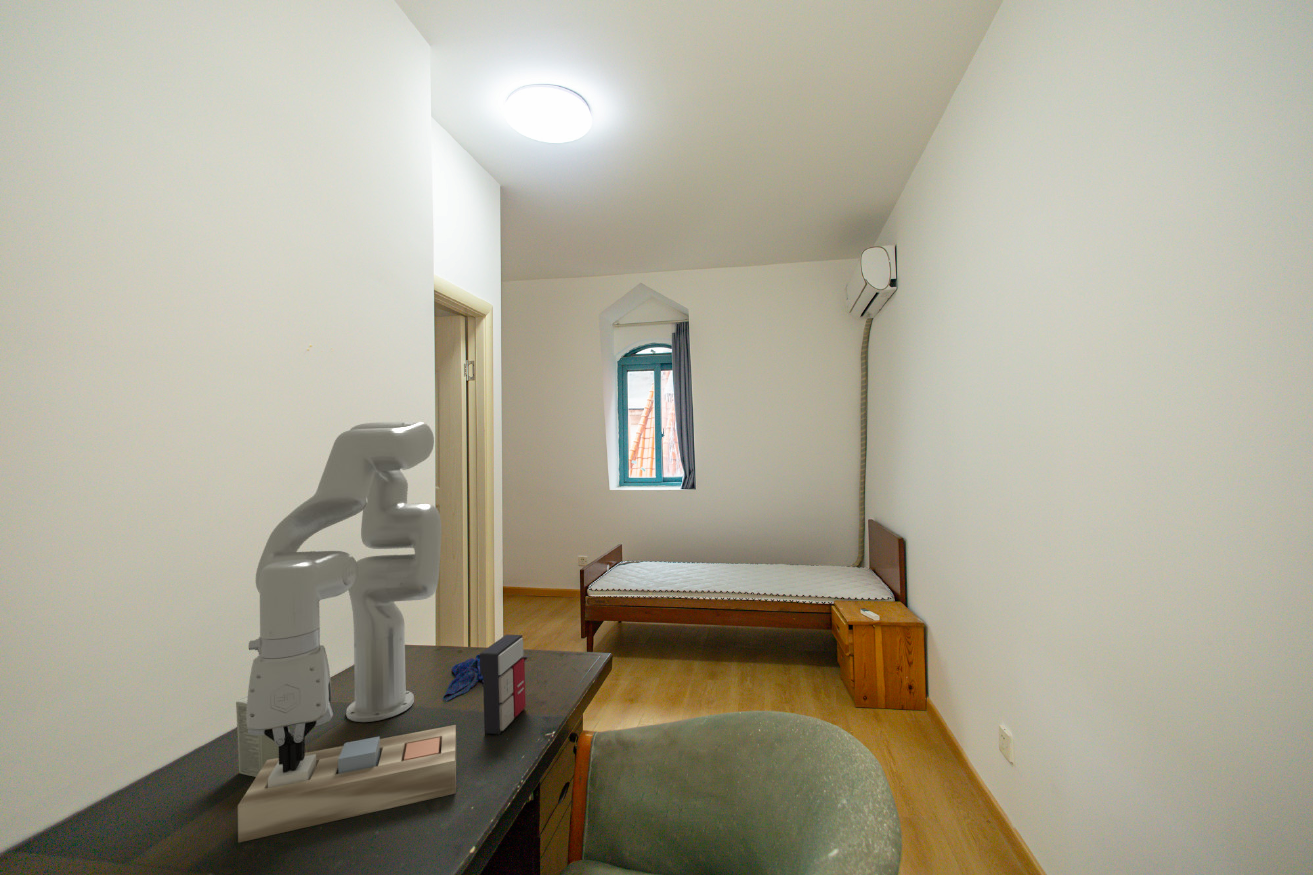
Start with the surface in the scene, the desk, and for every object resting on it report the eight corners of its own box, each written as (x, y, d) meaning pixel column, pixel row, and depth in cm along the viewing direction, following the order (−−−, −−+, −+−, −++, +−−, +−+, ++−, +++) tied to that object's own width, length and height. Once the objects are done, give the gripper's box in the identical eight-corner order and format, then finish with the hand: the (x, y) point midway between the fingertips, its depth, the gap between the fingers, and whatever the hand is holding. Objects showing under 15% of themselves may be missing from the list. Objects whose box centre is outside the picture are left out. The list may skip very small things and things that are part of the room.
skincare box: (288, 765, 94) (287, 693, 94) (262, 780, 89) (261, 705, 90) (262, 759, 96) (261, 689, 96) (235, 773, 92) (234, 700, 92)
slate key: (345, 761, 87) (344, 742, 87) (380, 755, 88) (379, 736, 89) (338, 779, 82) (338, 759, 82) (375, 771, 84) (375, 751, 84)
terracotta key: (407, 762, 90) (407, 743, 90) (440, 755, 91) (439, 737, 92) (404, 778, 85) (404, 759, 85) (438, 771, 87) (438, 752, 87)
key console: (267, 792, 86) (267, 760, 86) (456, 753, 96) (455, 724, 96) (238, 842, 75) (237, 805, 75) (455, 793, 84) (454, 760, 84)
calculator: (502, 735, 101) (500, 654, 102) (481, 734, 102) (479, 653, 102) (527, 708, 112) (526, 634, 112) (508, 706, 113) (506, 633, 113)
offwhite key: (278, 780, 84) (278, 760, 84) (316, 773, 85) (316, 753, 85) (267, 800, 79) (267, 778, 79) (307, 791, 81) (307, 771, 81)
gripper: (220, 659, 77) (221, 793, 76) (341, 644, 82) (343, 768, 81) (241, 643, 84) (242, 764, 83) (351, 629, 89) (352, 744, 88)
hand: (292, 766), depth 82 cm, fingers closed
